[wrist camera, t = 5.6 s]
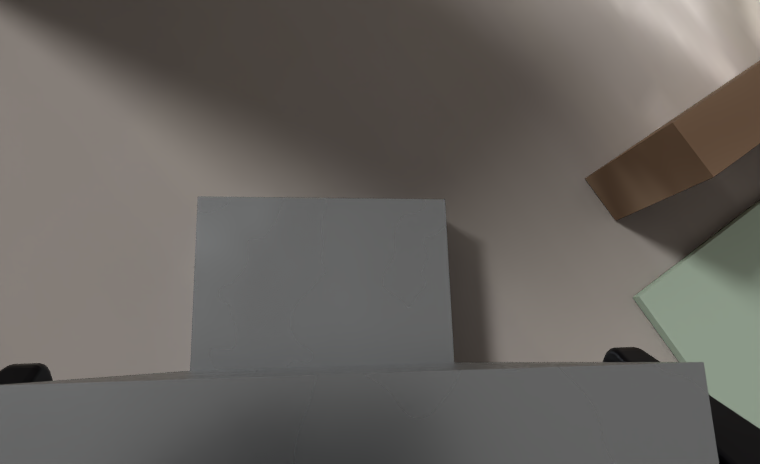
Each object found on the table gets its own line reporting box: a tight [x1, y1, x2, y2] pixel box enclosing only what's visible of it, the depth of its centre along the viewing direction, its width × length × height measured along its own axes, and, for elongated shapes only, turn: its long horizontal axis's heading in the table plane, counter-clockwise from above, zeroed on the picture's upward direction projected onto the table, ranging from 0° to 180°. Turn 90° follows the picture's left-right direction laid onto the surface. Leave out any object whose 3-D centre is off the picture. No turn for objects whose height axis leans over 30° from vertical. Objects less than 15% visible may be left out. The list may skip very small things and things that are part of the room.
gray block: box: [0, 197, 719, 464], centre depth 10 cm, size 7×6×10 cm
